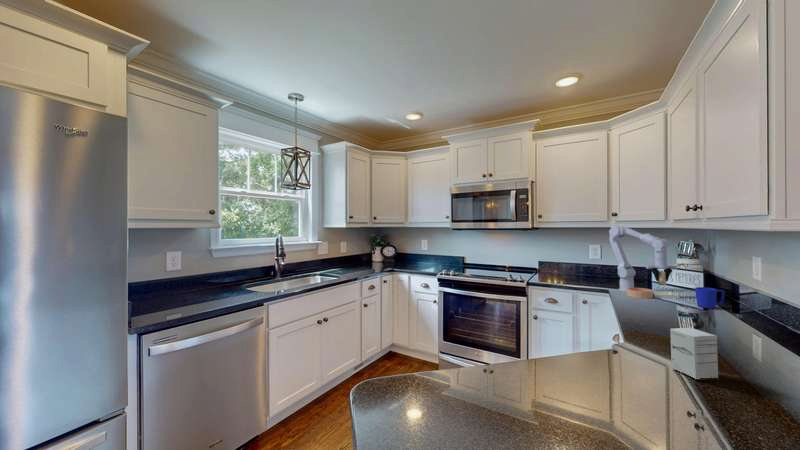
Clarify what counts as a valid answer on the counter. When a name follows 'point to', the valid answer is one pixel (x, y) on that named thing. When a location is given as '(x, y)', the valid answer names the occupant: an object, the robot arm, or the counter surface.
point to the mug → (708, 297)
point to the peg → (662, 278)
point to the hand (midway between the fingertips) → (661, 280)
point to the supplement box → (694, 352)
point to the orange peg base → (640, 292)
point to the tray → (665, 294)
